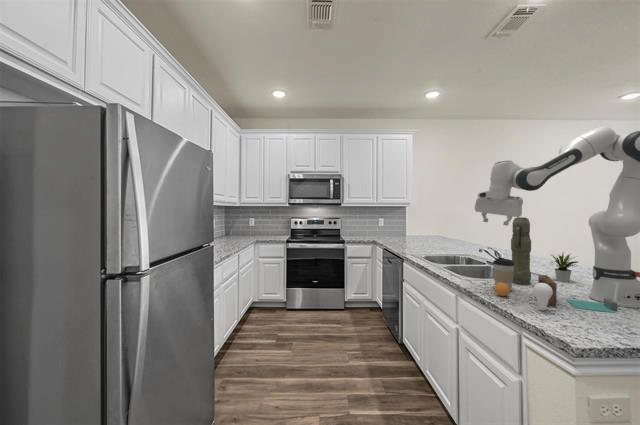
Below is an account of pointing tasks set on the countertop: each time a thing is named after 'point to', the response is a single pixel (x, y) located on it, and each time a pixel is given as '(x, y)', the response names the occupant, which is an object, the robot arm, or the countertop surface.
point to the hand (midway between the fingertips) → (495, 223)
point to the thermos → (521, 251)
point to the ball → (502, 289)
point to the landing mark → (589, 305)
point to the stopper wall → (610, 304)
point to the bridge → (553, 285)
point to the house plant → (563, 268)
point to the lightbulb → (542, 294)
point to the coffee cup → (503, 271)
